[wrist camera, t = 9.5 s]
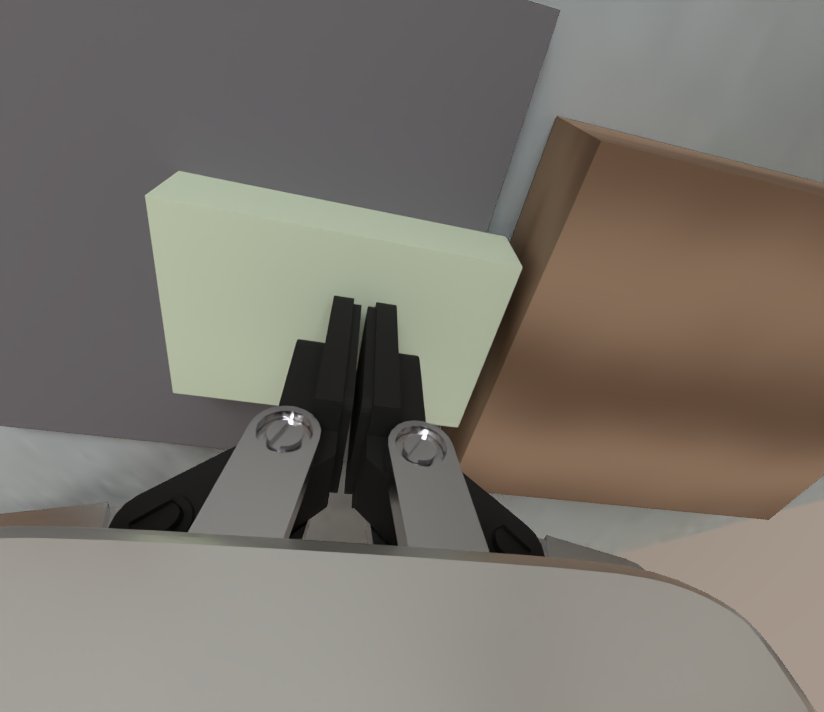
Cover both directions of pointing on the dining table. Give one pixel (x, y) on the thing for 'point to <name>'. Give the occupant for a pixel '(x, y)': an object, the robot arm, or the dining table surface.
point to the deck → (656, 334)
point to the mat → (221, 164)
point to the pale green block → (316, 287)
